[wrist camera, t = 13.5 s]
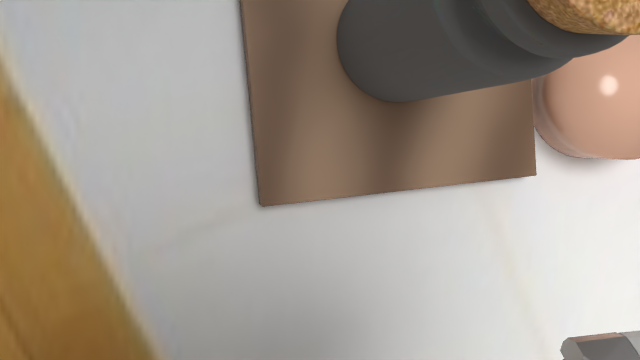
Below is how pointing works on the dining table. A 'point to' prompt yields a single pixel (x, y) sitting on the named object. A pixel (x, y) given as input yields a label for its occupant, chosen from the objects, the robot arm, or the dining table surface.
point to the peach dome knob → (592, 104)
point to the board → (364, 118)
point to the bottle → (471, 41)
